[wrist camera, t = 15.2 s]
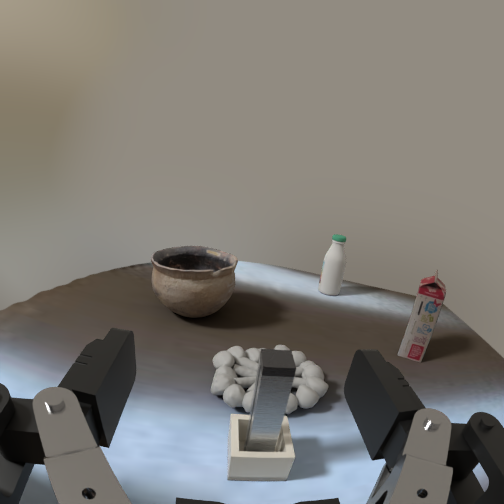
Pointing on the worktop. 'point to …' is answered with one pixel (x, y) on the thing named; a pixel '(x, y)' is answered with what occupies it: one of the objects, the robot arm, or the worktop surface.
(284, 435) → the open box
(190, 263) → the ceramic bowl
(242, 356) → the campfire
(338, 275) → the milk bottle
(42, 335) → the worktop surface
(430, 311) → the juice carton
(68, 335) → the worktop surface
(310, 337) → the worktop surface
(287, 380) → the grey long square block
